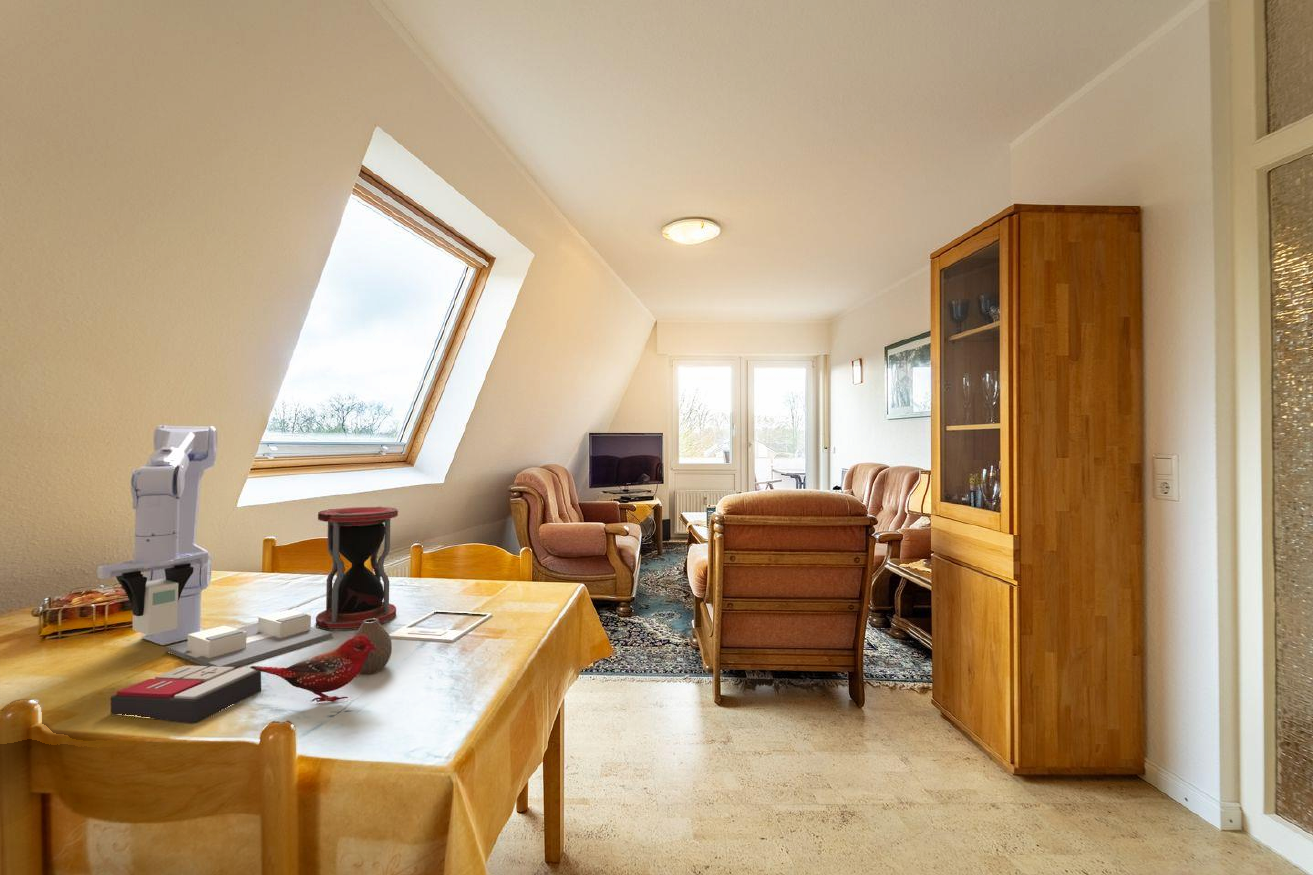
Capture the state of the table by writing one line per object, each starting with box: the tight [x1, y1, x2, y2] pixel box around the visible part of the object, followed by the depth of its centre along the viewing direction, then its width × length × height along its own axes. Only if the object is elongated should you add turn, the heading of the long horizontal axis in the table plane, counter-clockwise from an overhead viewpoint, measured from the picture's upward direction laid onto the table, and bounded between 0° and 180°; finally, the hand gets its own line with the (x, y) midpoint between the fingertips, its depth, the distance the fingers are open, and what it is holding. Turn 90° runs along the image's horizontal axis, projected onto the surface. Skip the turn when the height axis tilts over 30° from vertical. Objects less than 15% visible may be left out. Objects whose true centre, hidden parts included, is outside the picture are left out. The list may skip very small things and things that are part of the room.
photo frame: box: [388, 610, 493, 643], centre depth 121 cm, size 15×1×18 cm
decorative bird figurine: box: [249, 635, 377, 703], centre depth 84 cm, size 3×18×10 cm, turn 102°
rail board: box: [165, 609, 334, 669], centre depth 109 cm, size 20×20×4 cm
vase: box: [351, 619, 393, 676], centre depth 96 cm, size 7×7×9 cm
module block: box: [132, 579, 178, 635], centre depth 96 cm, size 6×4×8 cm, turn 63°
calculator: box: [110, 665, 262, 725], centre depth 84 cm, size 11×4×15 cm
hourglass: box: [315, 506, 399, 631], centre depth 125 cm, size 16×16×25 cm
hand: (155, 611), depth 96 cm, fingers closed on module block, 4 cm apart
